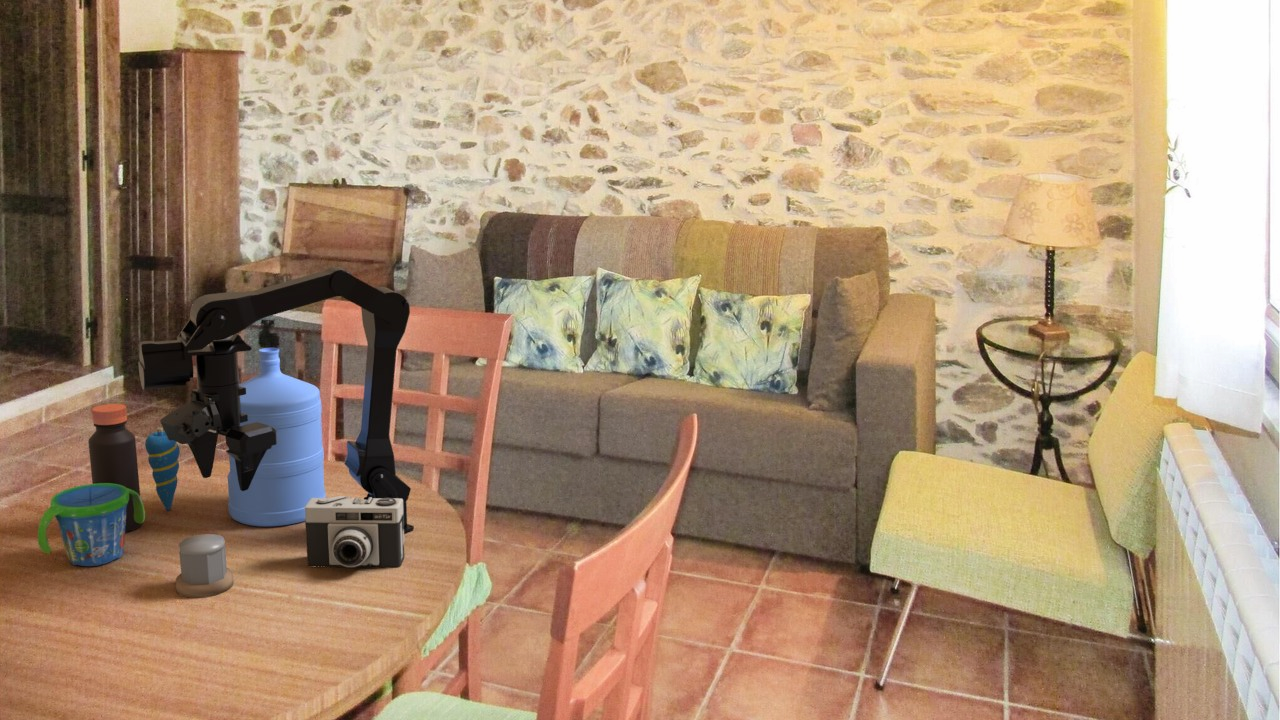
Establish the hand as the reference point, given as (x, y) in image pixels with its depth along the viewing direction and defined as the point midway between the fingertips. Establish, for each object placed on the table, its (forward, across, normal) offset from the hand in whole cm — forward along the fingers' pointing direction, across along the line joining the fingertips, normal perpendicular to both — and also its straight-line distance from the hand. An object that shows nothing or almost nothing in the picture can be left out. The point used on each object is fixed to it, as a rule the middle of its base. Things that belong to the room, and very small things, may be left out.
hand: (225, 483), depth 165 cm
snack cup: (+12, -16, -12) cm, 23 cm away
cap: (+10, +6, -8) cm, 14 cm away
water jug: (+12, -11, +17) cm, 24 cm away
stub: (+12, +6, -8) cm, 15 cm away
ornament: (+12, -26, +6) cm, 29 cm away
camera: (+12, +17, +10) cm, 23 cm away
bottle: (+12, -25, -3) cm, 28 cm away
